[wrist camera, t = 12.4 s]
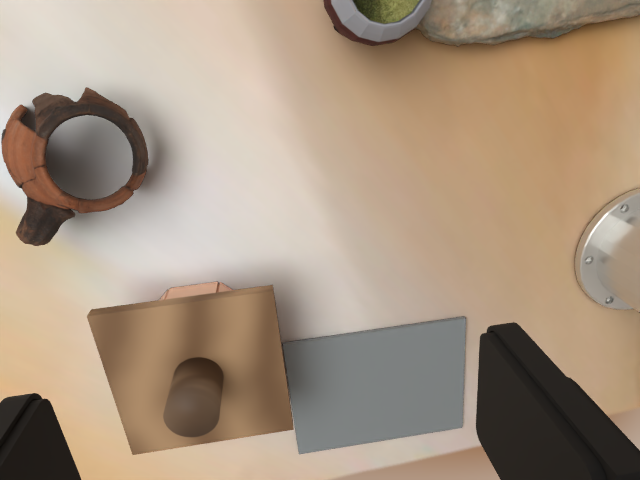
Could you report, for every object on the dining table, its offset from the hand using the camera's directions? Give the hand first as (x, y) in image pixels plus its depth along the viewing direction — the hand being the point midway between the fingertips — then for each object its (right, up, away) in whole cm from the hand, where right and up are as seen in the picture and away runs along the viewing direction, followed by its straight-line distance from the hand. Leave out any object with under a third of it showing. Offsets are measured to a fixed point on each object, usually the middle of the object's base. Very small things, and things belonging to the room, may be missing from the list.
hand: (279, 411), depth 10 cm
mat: (+7, -11, +39) cm, 41 cm away
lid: (-9, -7, +29) cm, 32 cm away
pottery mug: (-18, +10, +27) cm, 34 cm away
